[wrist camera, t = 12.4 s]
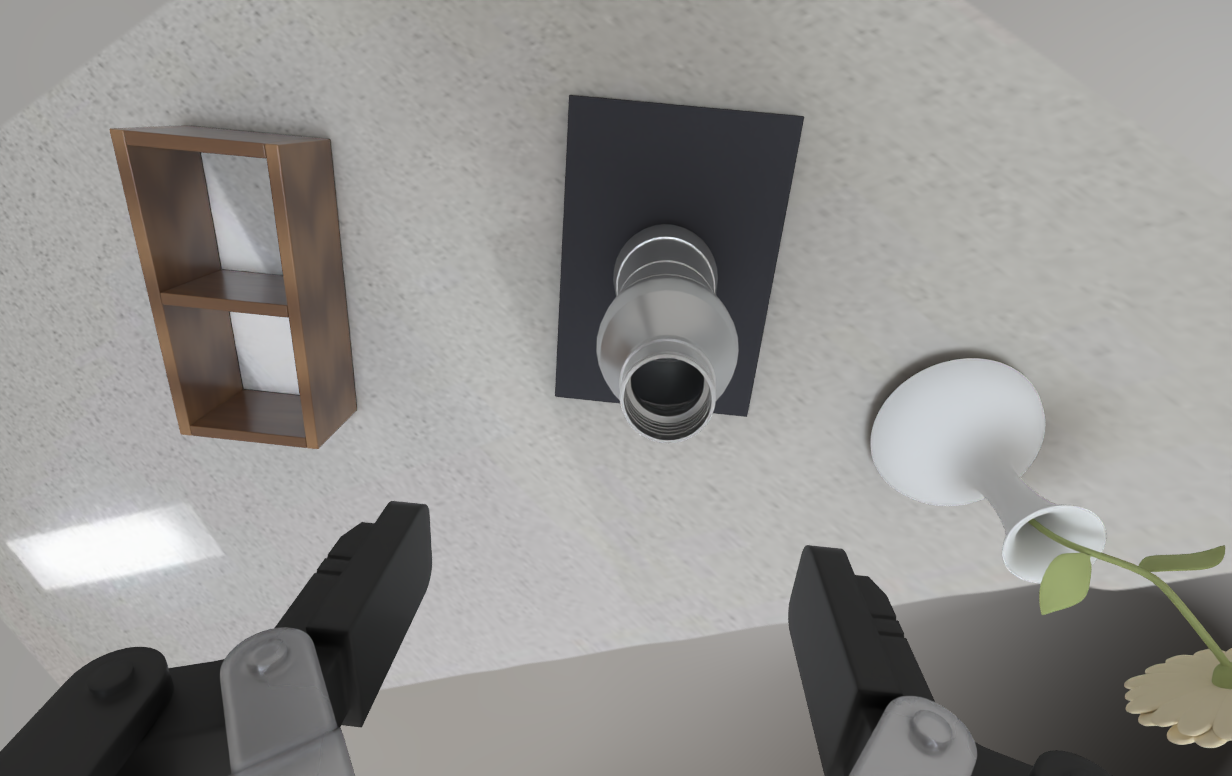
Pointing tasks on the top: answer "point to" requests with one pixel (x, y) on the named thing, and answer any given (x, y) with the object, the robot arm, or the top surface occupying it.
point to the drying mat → (670, 217)
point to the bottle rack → (241, 282)
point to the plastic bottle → (667, 335)
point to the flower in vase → (1039, 520)
